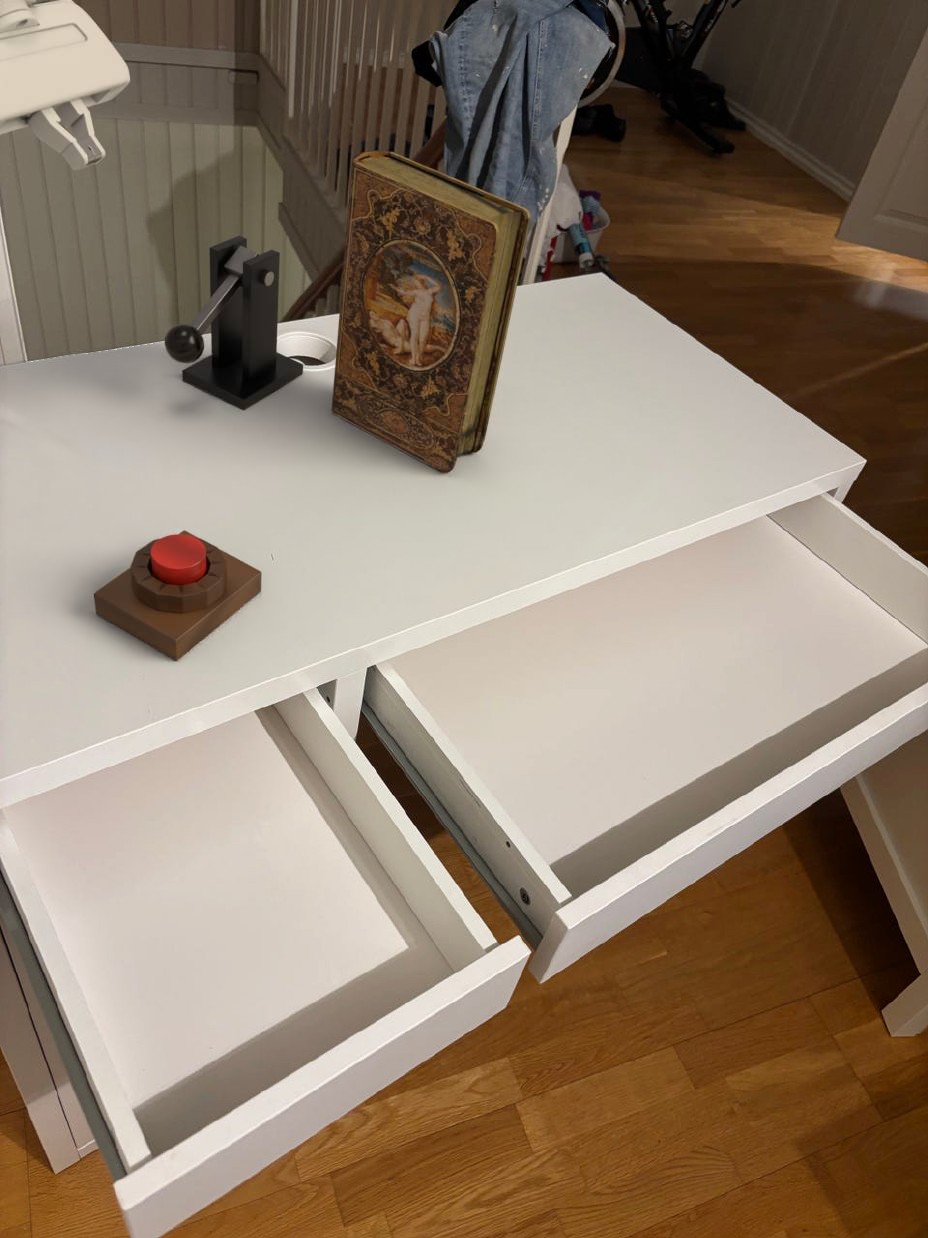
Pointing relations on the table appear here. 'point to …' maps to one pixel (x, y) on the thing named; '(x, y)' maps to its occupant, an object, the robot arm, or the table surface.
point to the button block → (177, 600)
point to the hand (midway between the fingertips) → (91, 163)
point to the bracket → (244, 333)
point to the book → (424, 306)
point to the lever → (206, 312)
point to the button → (178, 559)
